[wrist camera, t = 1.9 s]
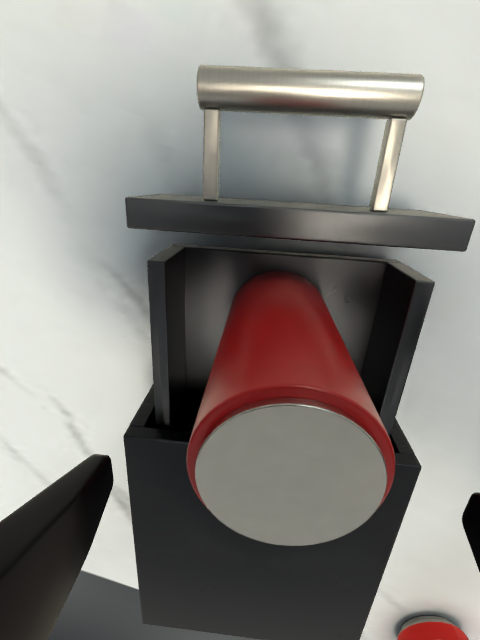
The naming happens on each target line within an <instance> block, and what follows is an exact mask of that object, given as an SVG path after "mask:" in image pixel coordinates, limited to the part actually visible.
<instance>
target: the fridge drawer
mask: <svg viewBox="0 0 480 640" xmlns="http://www.w3.org/2000/svg"><path fill="white" fill-rule="evenodd" d="M423 90H424V77H423V75H421V74H402V73H378V72H355V71H332V70H309V69H286V68H262V67H239V66H216V65H200V66H199V68H198V72H197V97H198V103H199V107H200V109H201V110H204V152H203V196H188V195H173V194H155V195H143V196H132V197H126V198H125V202H126V216H127V227H128V228H134V229H148V230H162V231H176V232H191V233H205V234H219V235H233V236H248V237H262V238H276V239H290V240H305V241H319V242H333V243H347V244H362V245H376V246H390V247H404V248H419V249H433V250H447V251H461V252H463V251H466V249H467V246H468V243H469V240H470V237H471V234H472V231H473V228H474V224H475V220H473V219H468V218H462V217H456V216H450V215H444V214H439V213H433V212H427V211H421V210H406V209H391V208H388V205H389V201H390V196H391V192H392V187H393V182H394V178H395V173H396V169H397V164H398V159H399V155H400V150H401V146H402V141H403V137H404V132H405V127H406V123H407V120H410V119H411V118H412V117H413V116H414V115H415V113H416V111H417V109H418V107H419V104H420V102H421V98H422V95H423ZM220 111H233V112H253V113H273V114H293V115H313V116H332V117H352V118H372V119H389V120H388V121H387V122H386V126H385V131H384V136H383V141H382V146H381V151H380V157H379V162H378V167H377V172H376V177H375V182H374V187H373V192H372V197H371V202H370V207H360V206H344V205H328V204H313V203H297V202H282V201H266V200H251V199H235V198H220V197H219V168H220V135H221V112H220ZM147 267H148V286H149V305H150V324H151V343H152V362H153V381H154V400H155V420H156V429H165V430H175V431H185V432H192V431H193V427H194V424H195V421H196V418H197V414H198V411H199V408H200V405H201V401H202V398H203V395H204V392H205V388H206V385H207V382H208V379H209V376H210V372H211V369H212V366H213V363H214V359H215V356H216V353H217V350H218V346H219V343H220V340H221V337H222V334H223V330H224V327H225V324H226V321H227V317H228V314H229V311H230V308H231V304H232V302H233V299H234V297H235V295H236V293H237V292H238V291H239V289H240V288H241V287H242V286H243V285H244V284H245V283H246V282H247V281H249V280H250V279H252V278H253V277H255V276H257V275H260V274H262V273H266V272H271V271H286V272H291V273H295V274H298V275H300V276H302V277H304V278H306V279H307V280H308V281H310V282H311V283H312V284H313V285H314V286H315V287H316V288H317V289H318V291H319V292H320V294H321V296H322V297H323V299H324V302H325V304H326V306H327V308H328V310H329V312H330V314H331V316H332V318H333V320H334V322H335V325H336V327H337V329H338V331H339V333H340V335H341V337H342V339H343V341H344V343H345V346H346V348H347V350H348V352H349V354H350V356H351V358H352V360H353V362H354V364H355V367H356V369H357V371H358V373H359V375H360V377H361V379H362V381H363V383H364V385H365V387H366V390H367V392H368V394H369V396H370V398H371V400H372V402H373V404H374V406H375V408H376V411H377V413H378V415H379V417H380V419H381V421H382V423H383V425H384V427H385V429H386V432H387V434H388V436H389V437H390V433H391V430H392V426H393V423H394V420H395V416H396V413H397V410H398V406H399V403H400V399H401V396H402V393H403V389H404V386H405V382H406V379H407V376H408V372H409V369H410V366H411V362H412V359H413V355H414V352H415V349H416V345H417V342H418V338H419V335H420V332H421V328H422V325H423V322H424V318H425V315H426V311H427V308H428V305H429V301H430V298H431V294H432V291H433V288H434V284H435V282H434V281H432V280H430V279H429V278H427V277H425V276H423V275H422V274H420V273H418V272H417V271H415V270H413V269H412V268H410V267H408V266H406V265H405V264H403V263H401V262H399V261H398V260H390V259H376V258H362V257H349V256H335V255H321V254H307V253H293V252H279V251H265V250H252V249H238V248H224V247H210V246H196V245H182V244H174V245H172V246H170V247H168V248H166V249H165V250H163V251H162V252H160V253H159V254H157V255H155V256H154V257H152V258H151V259H149V260H148V261H147Z"/></svg>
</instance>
